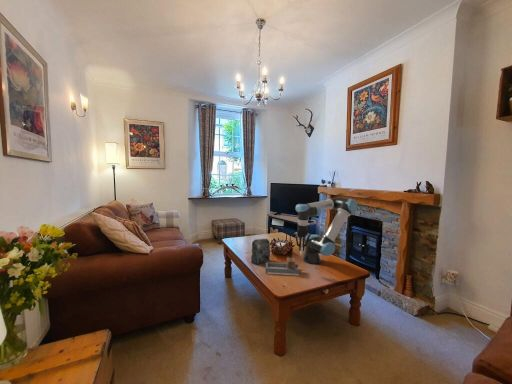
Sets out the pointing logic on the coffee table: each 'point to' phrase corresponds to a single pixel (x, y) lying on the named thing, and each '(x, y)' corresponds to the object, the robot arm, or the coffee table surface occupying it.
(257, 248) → the stone block
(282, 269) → the chute
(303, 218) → the robot arm
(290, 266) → the walnut block
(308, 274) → the coffee table surface
